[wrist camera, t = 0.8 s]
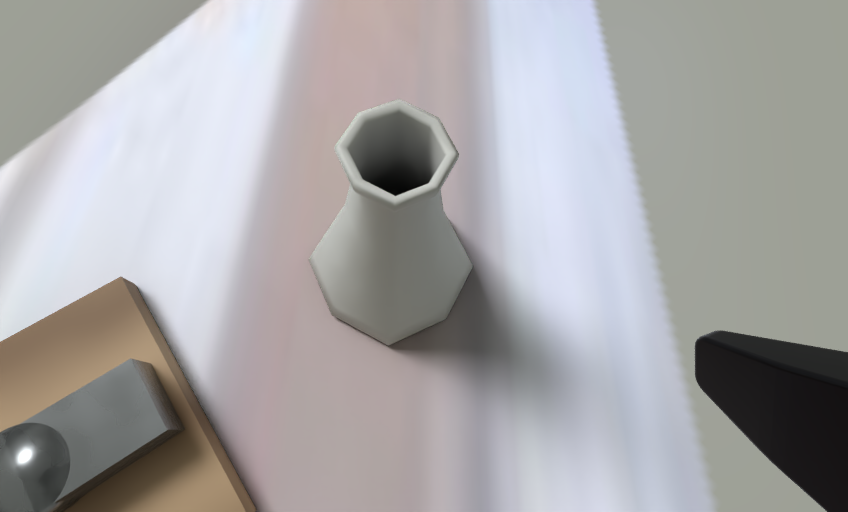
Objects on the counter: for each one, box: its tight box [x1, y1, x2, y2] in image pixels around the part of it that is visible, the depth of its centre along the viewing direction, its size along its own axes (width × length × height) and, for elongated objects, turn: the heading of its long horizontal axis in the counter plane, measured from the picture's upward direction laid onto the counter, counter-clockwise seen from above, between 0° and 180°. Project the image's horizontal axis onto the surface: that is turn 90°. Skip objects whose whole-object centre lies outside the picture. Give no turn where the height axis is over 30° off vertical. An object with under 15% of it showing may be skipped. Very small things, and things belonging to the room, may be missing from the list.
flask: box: [309, 99, 473, 345], centre depth 17 cm, size 7×7×10 cm
